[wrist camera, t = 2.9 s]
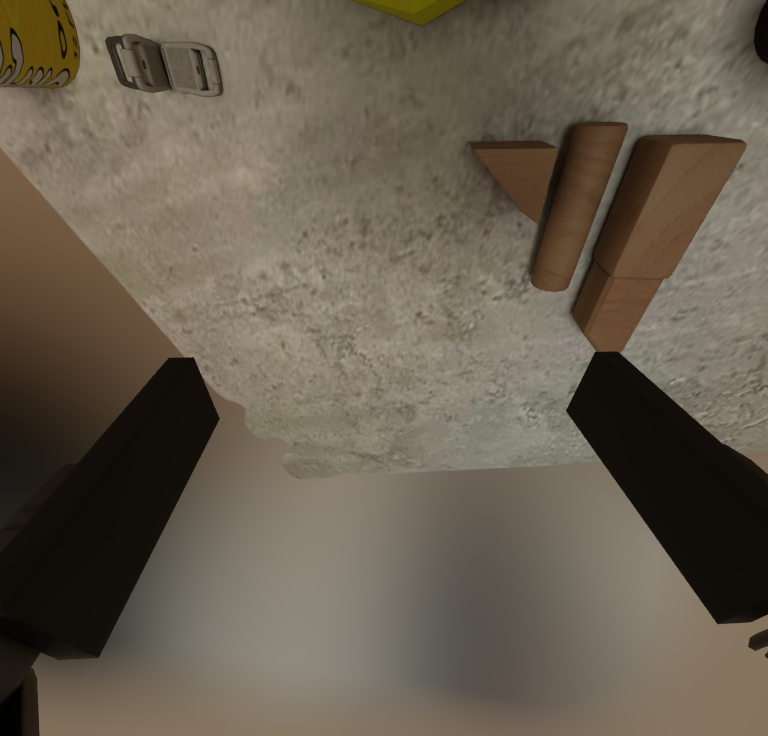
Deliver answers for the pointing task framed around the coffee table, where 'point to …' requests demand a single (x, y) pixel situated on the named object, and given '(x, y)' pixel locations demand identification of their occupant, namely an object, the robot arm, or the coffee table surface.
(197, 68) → the strap clip
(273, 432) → the coffee table surface
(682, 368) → the coffee table surface
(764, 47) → the cup
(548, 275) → the wooden block set
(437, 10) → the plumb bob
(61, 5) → the beverage can
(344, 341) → the coffee table surface
